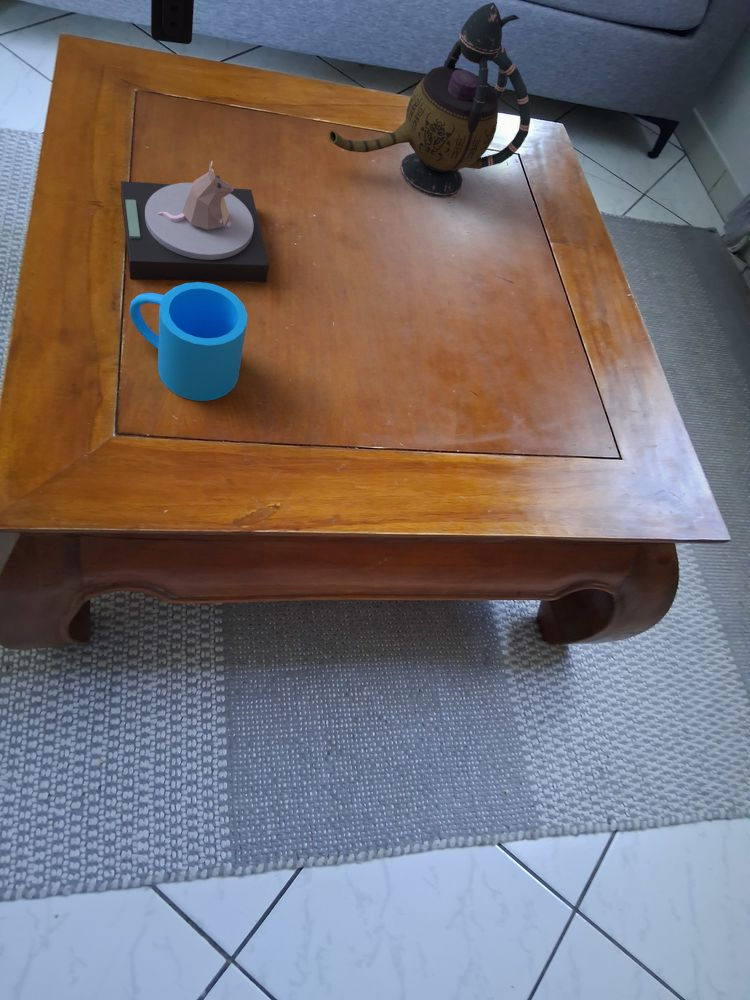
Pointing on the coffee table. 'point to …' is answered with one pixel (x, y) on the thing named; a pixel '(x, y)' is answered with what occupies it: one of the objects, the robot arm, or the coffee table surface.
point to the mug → (196, 338)
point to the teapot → (456, 112)
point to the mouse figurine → (206, 203)
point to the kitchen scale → (190, 237)
